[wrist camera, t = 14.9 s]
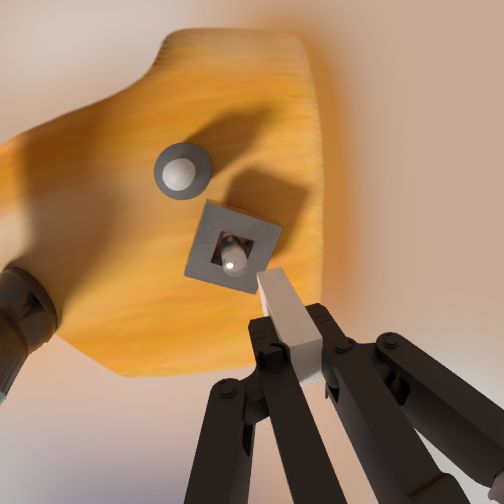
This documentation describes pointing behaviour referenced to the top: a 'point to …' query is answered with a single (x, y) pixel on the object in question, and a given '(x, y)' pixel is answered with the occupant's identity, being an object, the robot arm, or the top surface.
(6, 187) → the top surface
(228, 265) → the hub
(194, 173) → the stand
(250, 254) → the hollow square frame
